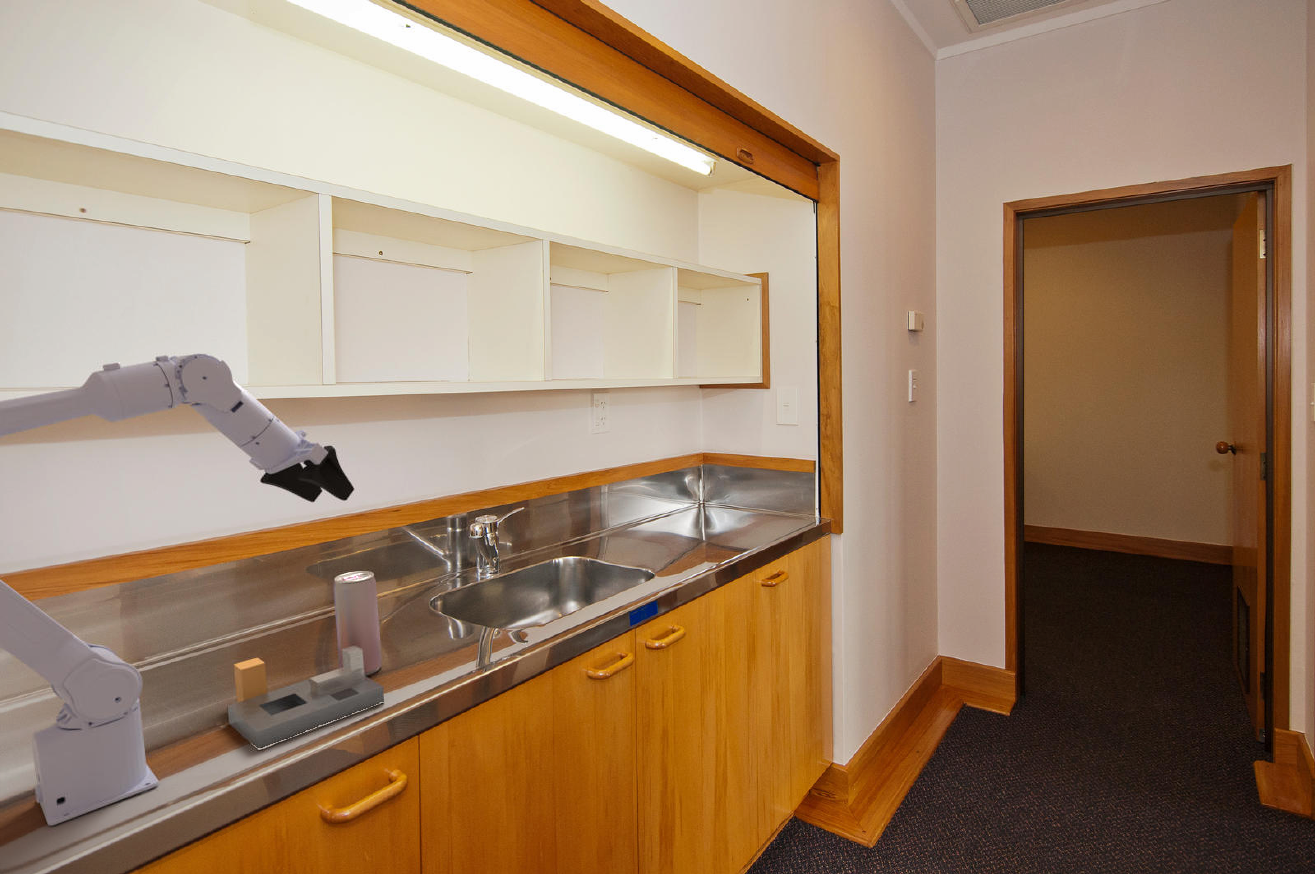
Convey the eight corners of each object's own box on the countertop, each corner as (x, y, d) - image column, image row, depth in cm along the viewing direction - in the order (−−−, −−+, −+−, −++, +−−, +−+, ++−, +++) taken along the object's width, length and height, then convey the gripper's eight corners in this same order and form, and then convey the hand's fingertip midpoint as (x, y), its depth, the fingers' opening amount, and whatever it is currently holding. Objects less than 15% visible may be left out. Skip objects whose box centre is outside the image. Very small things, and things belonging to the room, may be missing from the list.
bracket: (318, 695, 95) (315, 664, 95) (311, 690, 97) (308, 659, 96) (364, 679, 100) (362, 649, 99) (356, 675, 101) (354, 645, 101)
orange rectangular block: (244, 712, 96) (241, 669, 96) (237, 705, 98) (233, 664, 98) (268, 704, 99) (264, 662, 98) (260, 698, 101) (257, 657, 100)
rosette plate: (258, 751, 86) (256, 732, 86) (229, 723, 93) (227, 705, 93) (384, 703, 98) (383, 686, 97) (349, 681, 105) (348, 666, 105)
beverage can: (334, 671, 109) (326, 577, 108) (372, 660, 113) (365, 568, 112) (349, 682, 105) (341, 584, 103) (388, 670, 109) (381, 575, 108)
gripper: (306, 401, 88) (380, 470, 96) (247, 412, 96) (320, 475, 104) (269, 443, 84) (350, 512, 92) (211, 451, 92) (290, 514, 100)
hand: (332, 495), depth 98 cm, fingers open, 7 cm apart
